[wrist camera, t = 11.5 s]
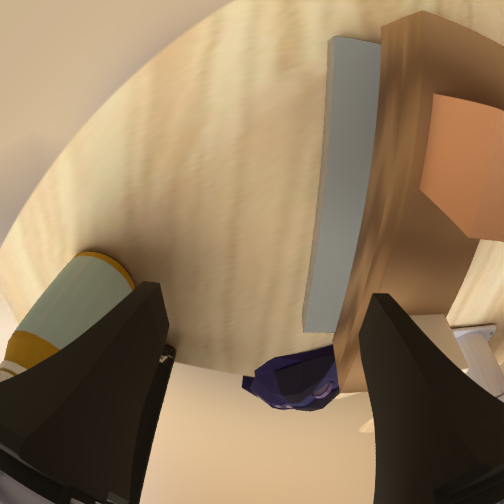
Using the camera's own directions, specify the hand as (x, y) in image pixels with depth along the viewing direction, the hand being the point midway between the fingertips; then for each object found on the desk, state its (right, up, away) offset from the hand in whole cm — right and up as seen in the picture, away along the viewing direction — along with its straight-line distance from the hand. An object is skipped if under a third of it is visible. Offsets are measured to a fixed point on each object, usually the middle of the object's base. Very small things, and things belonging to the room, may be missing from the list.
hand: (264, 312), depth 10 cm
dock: (+9, +5, +8) cm, 13 cm away
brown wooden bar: (+9, +4, +7) cm, 12 cm away
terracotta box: (+8, +6, -1) cm, 10 cm away
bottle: (-13, 0, +14) cm, 19 cm away
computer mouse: (+5, -10, +19) cm, 22 cm away
